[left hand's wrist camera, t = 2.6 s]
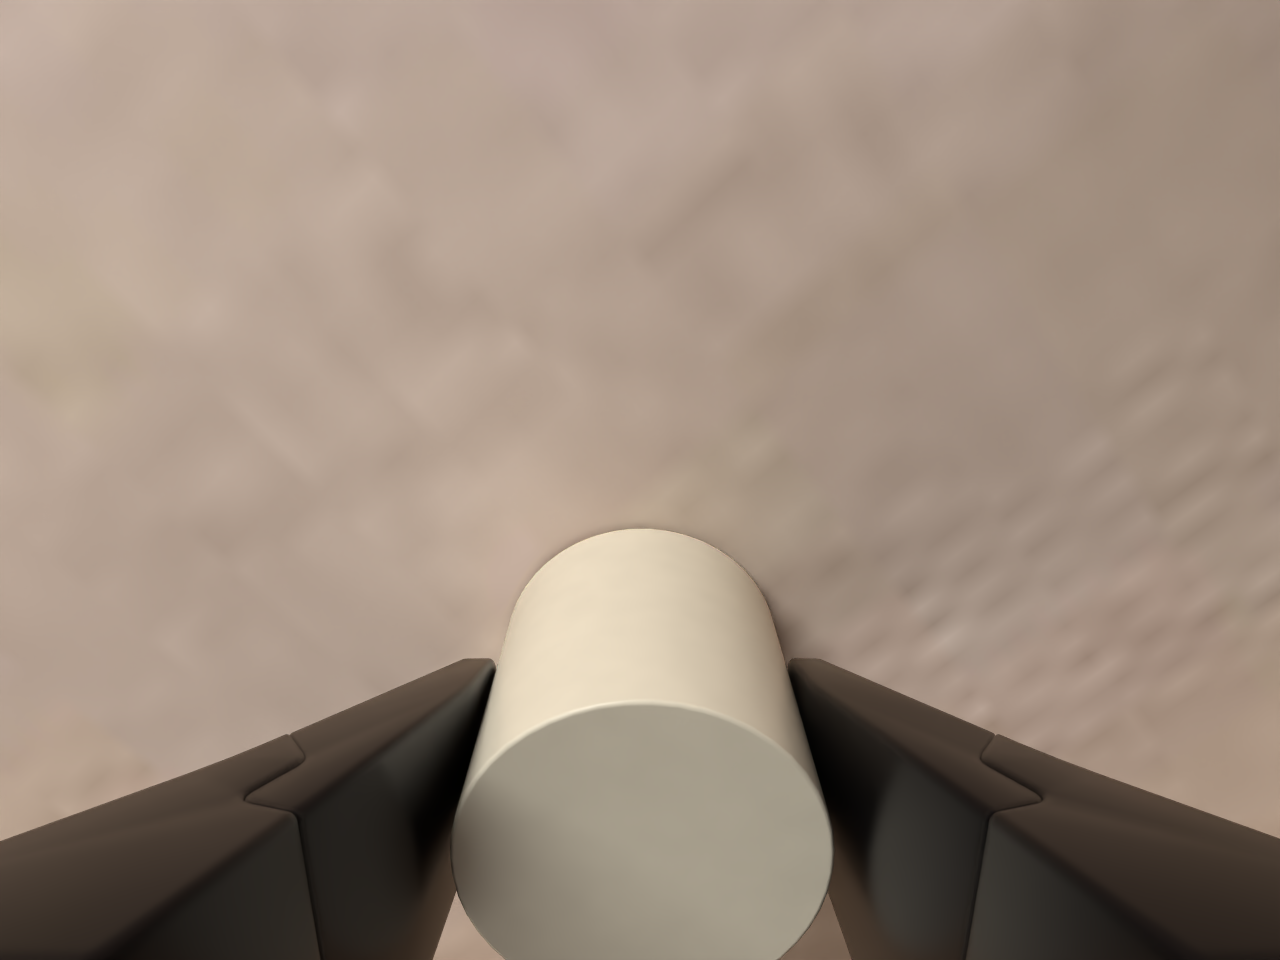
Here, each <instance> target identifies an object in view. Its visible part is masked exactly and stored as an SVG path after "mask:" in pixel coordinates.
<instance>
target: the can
mask: <svg viewBox="0 0 1280 960" xmlns="http://www.w3.org/2000/svg"><path fill="white" fill-rule="evenodd" d="M834 851H835V848H834V837H833V828H832V824H831V821H830V817H829V813H828V809H827V806H826V802H825V799H824V795H823V792H822V789H821V785H820V782H819V778H818V775H817V771H816V768H815V764H814V761H813V757H812V754H811V750H810V747H809V744H808V740H807V737H806V733H805V730H804V726H803V723H802V719H801V716H800V712H799V709H798V705H797V702H796V699H795V695H794V692H793V688H792V685H791V681H790V678H789V674H788V671H787V667H786V664H785V660H784V657H783V654H782V650H781V647H780V643H779V640H778V636H777V633H776V629H775V626H774V622H773V619H772V615H771V612H770V610H769V607H768V605H767V603H766V600H765V598H764V596H763V595H762V593H761V591H760V590H759V588H758V587H757V585H756V583H755V582H754V581H753V580H752V579H751V577H750V576H749V575H748V574H747V573H746V571H745V570H744V569H743V568H741V567H740V566H739V565H738V564H737V563H736V562H735V561H734V560H733V559H731V558H730V557H728V556H727V555H726V554H724V553H723V552H721V551H720V550H718V549H717V548H715V547H713V546H711V545H709V544H707V543H705V542H703V541H701V540H698V539H695V538H692V537H690V536H687V535H684V534H679V533H675V532H671V531H666V530H656V529H626V530H619V531H612V532H608V533H604V534H600V535H597V536H593V537H591V538H588V539H586V540H583V541H581V542H578V543H576V544H574V545H573V546H571V547H569V548H567V549H565V550H564V551H562V552H560V553H559V554H558V555H556V556H555V557H554V558H552V559H551V560H550V561H548V562H547V563H546V564H545V565H544V566H543V567H542V568H541V569H540V570H539V571H538V572H537V573H536V574H535V575H534V576H533V578H532V579H531V580H530V582H529V583H528V584H527V585H526V587H525V588H524V590H523V592H522V594H521V595H520V597H519V599H518V601H517V603H516V606H515V608H514V611H513V613H512V616H511V619H510V623H509V627H508V630H507V634H506V637H505V641H504V644H503V648H502V651H501V655H500V658H499V662H498V665H497V669H496V672H495V676H494V680H493V683H492V687H491V690H490V694H489V697H488V701H487V704H486V708H485V711H484V715H483V718H482V722H481V725H480V729H479V733H478V736H477V740H476V743H475V747H474V750H473V754H472V757H471V761H470V764H469V768H468V771H467V775H466V778H465V782H464V785H463V789H462V793H461V796H460V800H459V803H458V807H457V810H456V814H455V818H454V823H453V827H452V832H451V842H450V860H451V869H452V876H453V879H454V883H455V886H456V890H457V893H458V897H459V899H460V901H461V903H462V905H463V907H464V910H465V912H466V914H467V916H468V917H469V919H470V920H471V922H472V923H473V925H474V926H475V928H476V929H477V931H478V932H479V933H480V934H481V936H482V937H483V938H484V939H485V940H486V941H487V942H488V944H489V945H490V946H491V947H492V948H493V949H494V950H495V951H496V952H498V953H499V954H500V955H501V956H502V957H503V958H504V959H505V960H779V959H780V958H781V957H782V956H784V955H785V954H786V953H787V952H788V951H789V950H790V949H791V948H792V947H793V946H794V945H795V944H796V943H797V942H798V941H799V940H800V938H801V937H802V936H803V935H804V933H805V932H806V931H807V930H808V928H809V927H810V926H811V924H812V922H813V921H814V919H815V917H816V916H817V914H818V912H819V911H820V909H821V906H822V904H823V902H824V899H825V897H826V894H827V892H828V889H829V885H830V880H831V876H832V872H833V865H834Z"/></svg>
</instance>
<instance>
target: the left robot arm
mask: <svg viewBox="0 0 1280 960" xmlns="http://www.w3.org/2000/svg"><path fill="white" fill-rule="evenodd" d="M787 671H788V674H789V678H790V681H791V685H792V688H793V692H794V695H795V699H796V702H797V705H798V709H799V712H800V716H801V719H802V723H803V726H804V730H805V733H806V737H807V740H808V744H809V747H810V750H811V754H812V757H813V761H814V764H815V768H816V771H817V775H818V778H819V782H820V785H821V789H822V792H823V795H824V799H825V802H826V806H827V809H828V813H829V817H830V821H831V824H832V828H833V837H834V848H835V851H834V865H833V872H832V876H831V880H830V885H829V889H828V893H829V896H830V899H831V902H832V904H833V907H834V910H835V913H836V916H837V919H838V922H839V924H840V927H841V930H842V933H843V936H844V939H845V942H846V944H847V947H848V950H849V953H850V956H851V959H852V960H1280V839H1279V838H1277V837H1274V836H1271V835H1268V834H1265V833H1263V832H1260V831H1257V830H1254V829H1251V828H1249V827H1246V826H1243V825H1240V824H1237V823H1235V822H1232V821H1229V820H1226V819H1224V818H1221V817H1218V816H1215V815H1212V814H1210V813H1207V812H1204V811H1201V810H1198V809H1196V808H1193V807H1190V806H1187V805H1184V804H1182V803H1179V802H1176V801H1173V800H1171V799H1168V798H1165V797H1162V796H1159V795H1157V794H1154V793H1151V792H1148V791H1145V790H1143V789H1140V788H1137V787H1134V786H1131V785H1129V784H1126V783H1123V782H1120V781H1117V780H1115V779H1112V778H1109V777H1106V776H1104V775H1101V774H1098V773H1095V772H1093V771H1090V770H1087V769H1085V768H1082V767H1079V766H1077V765H1074V764H1071V763H1069V762H1066V761H1063V760H1061V759H1058V758H1055V757H1053V756H1050V755H1048V754H1045V753H1043V752H1040V751H1038V750H1036V749H1033V748H1031V747H1028V746H1026V745H1023V744H1021V743H1018V742H1016V741H1014V740H1011V739H1009V738H1007V737H1004V736H1002V735H999V734H997V735H995V734H994V733H992V732H990V731H987V730H985V729H983V728H980V727H978V726H976V725H973V724H971V723H969V722H966V721H964V720H962V719H959V718H957V717H955V716H952V715H950V714H948V713H945V712H943V711H941V710H938V709H936V708H934V707H931V706H929V705H927V704H924V703H922V702H919V701H917V700H915V699H912V698H910V697H908V696H905V695H903V694H901V693H898V692H896V691H894V690H891V689H889V688H887V687H884V686H882V685H880V684H877V683H875V682H873V681H870V680H868V679H866V678H863V677H861V676H859V675H856V674H854V673H852V672H849V671H847V670H844V669H842V668H840V667H837V666H835V665H833V664H830V663H828V662H826V661H823V660H821V659H810V658H795V659H792V660H791V661H790V662H789V664H788V670H787ZM495 672H496V666H495V663H494V661H493V660H492V659H489V658H474V659H462V660H460V661H458V662H456V663H453V664H451V665H449V666H446V667H444V668H442V669H439V670H437V671H435V672H432V673H430V674H428V675H425V676H423V677H421V678H418V679H416V680H414V681H411V682H409V683H407V684H404V685H402V686H400V687H397V688H395V689H393V690H390V691H388V692H386V693H383V694H381V695H379V696H377V697H374V698H372V699H370V700H367V701H365V702H363V703H360V704H358V705H356V706H353V707H351V708H349V709H346V710H344V711H342V712H339V713H337V714H335V715H332V716H330V717H328V718H325V719H323V720H321V721H318V722H316V723H314V724H311V725H309V726H307V727H304V728H302V729H300V730H297V731H295V732H293V733H291V734H290V735H288V734H286V735H283V736H281V737H278V738H276V739H274V740H272V741H269V742H267V743H264V744H262V745H260V746H257V747H255V748H252V749H250V750H247V751H245V752H242V753H240V754H238V755H235V756H233V757H230V758H228V759H225V760H222V761H220V762H217V763H214V764H212V765H209V766H206V767H204V768H201V769H198V770H196V771H193V772H190V773H188V774H185V775H182V776H180V777H177V778H174V779H171V780H168V781H166V782H163V783H160V784H157V785H155V786H152V787H149V788H146V789H143V790H141V791H138V792H135V793H132V794H130V795H127V796H124V797H121V798H119V799H116V800H113V801H110V802H107V803H105V804H102V805H99V806H96V807H94V808H91V809H88V810H85V811H83V812H80V813H77V814H74V815H71V816H69V817H66V818H63V819H60V820H58V821H55V822H52V823H49V824H46V825H44V826H41V827H38V828H35V829H33V830H30V831H27V832H24V833H22V834H19V835H16V836H13V837H10V838H8V839H5V840H2V841H0V960H433V957H434V954H435V951H436V948H437V945H438V943H439V940H440V937H441V934H442V931H443V928H444V925H445V922H446V919H447V917H448V914H449V911H450V908H451V905H452V902H453V899H454V896H455V893H456V886H455V883H454V879H453V876H452V869H451V860H450V842H451V832H452V827H453V823H454V818H455V814H456V810H457V807H458V803H459V800H460V796H461V793H462V789H463V785H464V782H465V778H466V775H467V771H468V768H469V764H470V761H471V757H472V754H473V750H474V747H475V743H476V740H477V736H478V733H479V729H480V725H481V722H482V718H483V715H484V711H485V708H486V704H487V701H488V697H489V694H490V690H491V687H492V683H493V680H494V676H495Z"/></svg>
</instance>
